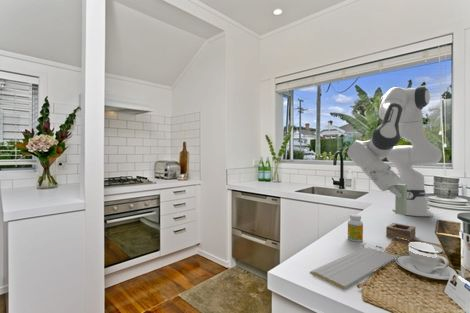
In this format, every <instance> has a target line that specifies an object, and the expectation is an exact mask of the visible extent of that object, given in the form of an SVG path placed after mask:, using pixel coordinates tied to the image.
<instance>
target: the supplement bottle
mask: <svg viewBox="0 0 470 313" xmlns="http://www.w3.org/2000/svg"><path fill="white" fill-rule="evenodd" d="M363 238H364V223H363V220H362V215H361V214H357V213H356V214H355V213H350V214H349V219H348V220H347V239H348V240H349V241H352V242H357V243H361V242H363V240H364V239H363Z"/></svg>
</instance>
